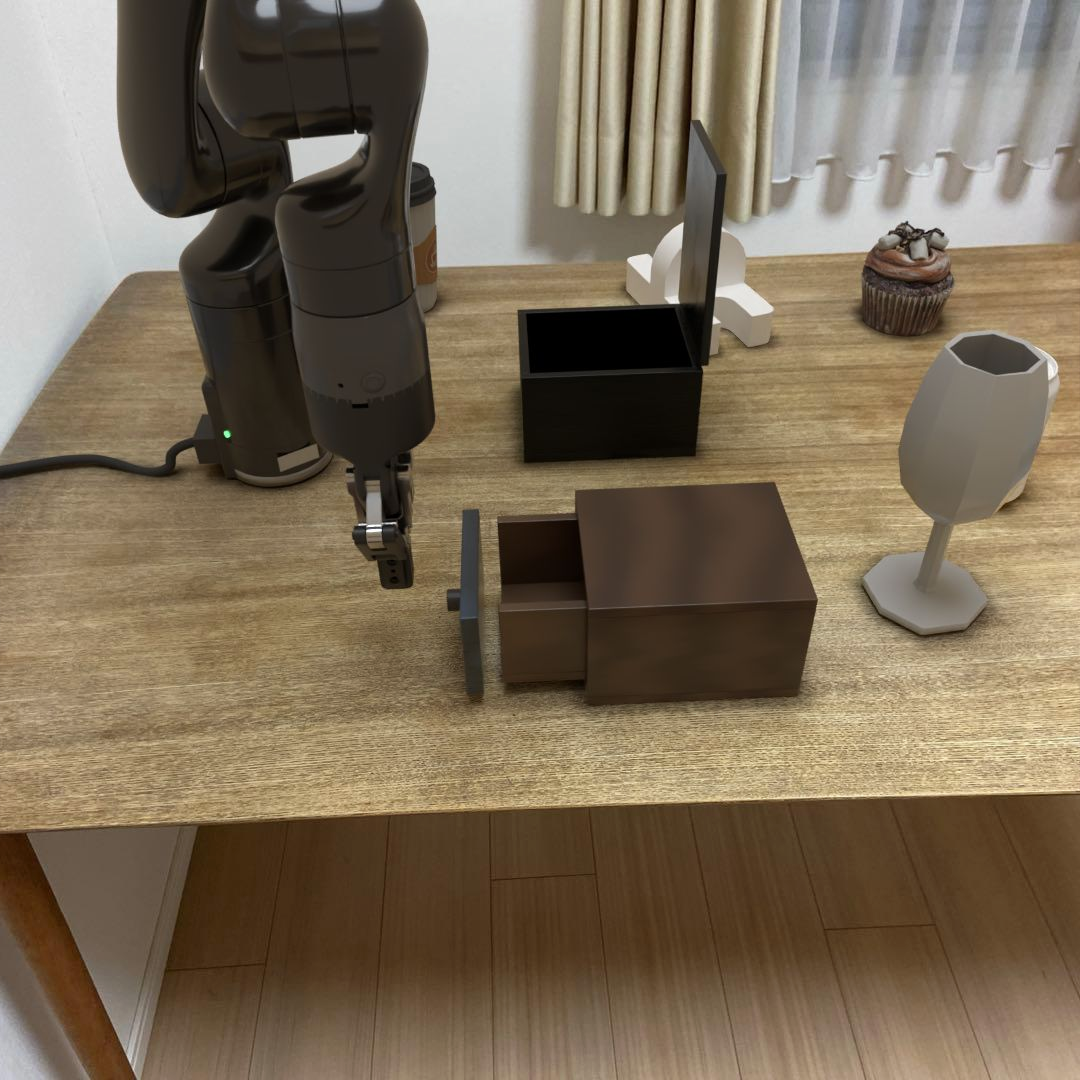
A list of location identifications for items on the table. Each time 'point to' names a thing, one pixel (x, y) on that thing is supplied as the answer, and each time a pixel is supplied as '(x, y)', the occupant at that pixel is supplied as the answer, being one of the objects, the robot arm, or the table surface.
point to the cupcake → (906, 281)
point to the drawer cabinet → (692, 593)
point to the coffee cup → (424, 233)
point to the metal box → (608, 383)
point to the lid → (701, 239)
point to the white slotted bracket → (733, 296)
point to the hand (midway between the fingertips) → (398, 582)
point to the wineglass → (961, 469)
